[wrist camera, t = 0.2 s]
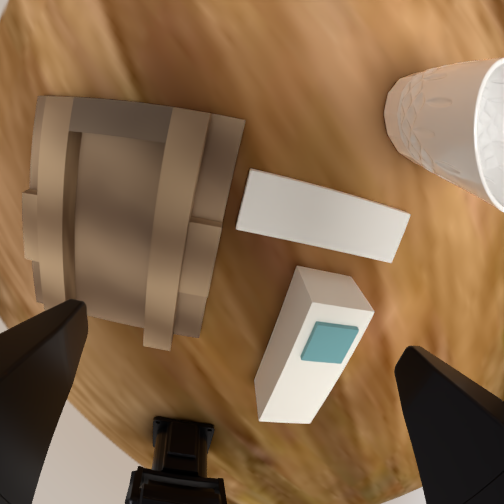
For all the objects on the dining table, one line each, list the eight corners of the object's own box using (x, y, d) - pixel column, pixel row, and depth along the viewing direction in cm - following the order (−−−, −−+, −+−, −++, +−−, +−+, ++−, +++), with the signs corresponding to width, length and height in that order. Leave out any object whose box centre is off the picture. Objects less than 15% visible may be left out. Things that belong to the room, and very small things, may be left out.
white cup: (386, 49, 17) (485, 25, 8) (468, 90, 18) (567, 102, 9) (363, 154, 20) (455, 193, 11) (447, 182, 21) (540, 229, 12)
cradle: (199, 330, 25) (197, 355, 22) (41, 295, 23) (25, 315, 20) (244, 120, 19) (247, 121, 16) (45, 95, 16) (21, 96, 14)
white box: (299, 382, 29) (310, 427, 24) (253, 378, 28) (259, 424, 23) (350, 275, 24) (376, 315, 19) (296, 264, 23) (313, 305, 18)
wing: (384, 256, 24) (391, 263, 23) (235, 223, 22) (235, 229, 21) (403, 209, 22) (410, 214, 21) (249, 166, 20) (250, 169, 19)
